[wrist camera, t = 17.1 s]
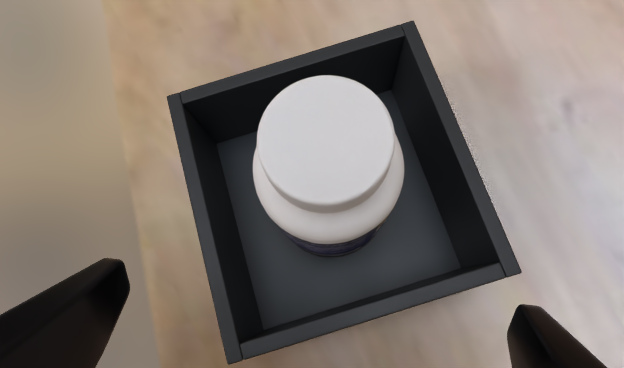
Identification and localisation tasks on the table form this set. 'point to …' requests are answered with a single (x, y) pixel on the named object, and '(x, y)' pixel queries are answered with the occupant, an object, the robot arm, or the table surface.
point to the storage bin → (389, 239)
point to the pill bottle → (328, 164)
